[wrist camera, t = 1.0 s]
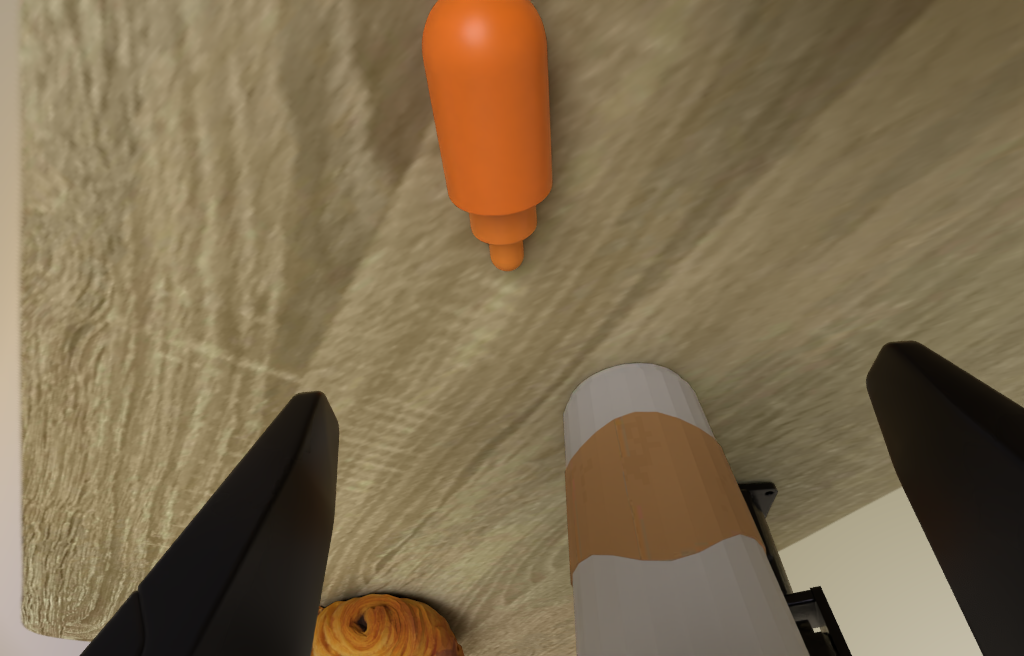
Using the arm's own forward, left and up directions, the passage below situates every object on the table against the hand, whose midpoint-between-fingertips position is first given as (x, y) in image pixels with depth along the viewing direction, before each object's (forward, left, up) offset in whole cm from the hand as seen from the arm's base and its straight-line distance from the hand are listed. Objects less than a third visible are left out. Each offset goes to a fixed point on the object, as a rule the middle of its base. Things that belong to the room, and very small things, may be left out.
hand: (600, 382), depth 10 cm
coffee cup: (-16, -3, -12) cm, 20 cm away
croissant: (-43, +16, -12) cm, 47 cm away
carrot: (-1, +2, -11) cm, 11 cm away
